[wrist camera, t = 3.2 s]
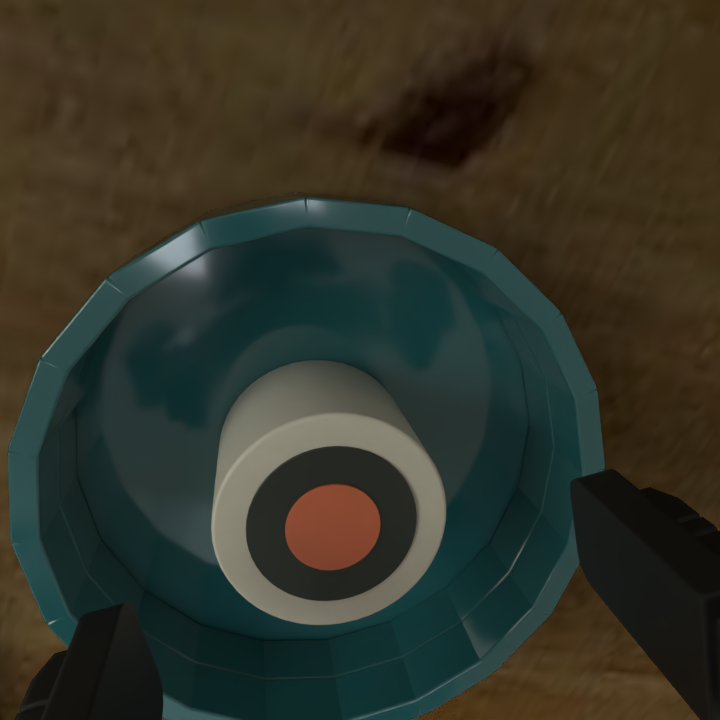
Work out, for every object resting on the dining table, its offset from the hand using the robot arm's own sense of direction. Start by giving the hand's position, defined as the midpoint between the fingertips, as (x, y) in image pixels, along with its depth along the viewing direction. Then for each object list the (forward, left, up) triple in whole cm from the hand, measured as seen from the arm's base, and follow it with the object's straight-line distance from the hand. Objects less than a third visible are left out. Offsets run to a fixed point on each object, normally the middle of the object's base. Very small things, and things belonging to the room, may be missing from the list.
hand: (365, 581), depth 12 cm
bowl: (0, 0, -7) cm, 7 cm away
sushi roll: (0, 0, -6) cm, 6 cm away
